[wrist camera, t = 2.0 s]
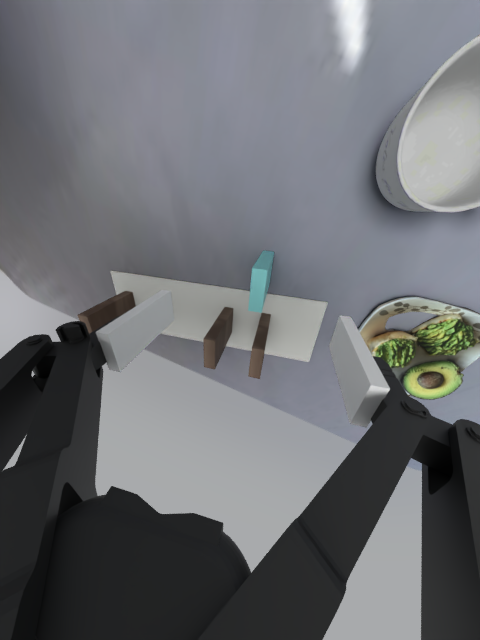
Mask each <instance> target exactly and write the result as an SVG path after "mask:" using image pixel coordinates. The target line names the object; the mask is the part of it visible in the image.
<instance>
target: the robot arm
mask: <svg viewBox="0 0 480 640" xmlns="http://www.w3.org/2000/svg"><path fill="white" fill-rule="evenodd" d="M173 321H174V313H173V305H172V297H171V291H168V290H161V291H159V292H158V293H156V294H155V295H153V296H152V297H150V298H148V299H147V300H145V301H144V302H142V303H141V304H139V305H137V306H136V307H134V308H133V309H131V310H130V311H128V312H126V313H125V314H123V315H120V316H117V317H115V318H114V319H112V320H111V321H110V322H107V323H106V324H105V325H103V326H101V327H99V328H98V329H96V330H95V331H93V332H91V333H90V334H89V332H88V329H87V327H86V324H85V323H84V322H81V321H75V322H69V323H66V324H63V325H61V326H59V327H58V328H57V329H56V331H57V334H58V336H59V338H60V340H61V342H52V340H51V338H50V337H49V335H43V334H42V335H34V336H30V337H28V338H26V339H24V340H22V341H21V342H19V343H18V344H17V345H16V346H15V347H14V348H13V349H12V350H11V351H9V352H8V353H7V354H6V355H5V356H3V357H2V358H1V359H0V640H322V639H323V637H324V635H325V633H326V631H327V629H328V628H329V626H330V624H331V622H332V620H333V618H334V616H335V614H336V612H337V610H338V608H339V605H340V603H341V601H342V599H343V597H344V594H345V591H346V583H347V580H348V578H349V576H350V573H351V571H352V570H353V568H354V566H355V564H356V562H357V560H358V558H359V556H360V554H361V552H362V550H363V549H364V547H365V545H366V543H367V541H368V539H369V537H370V535H371V533H372V531H373V529H374V528H375V526H376V524H377V522H378V520H379V518H380V516H381V514H382V512H383V510H384V508H385V506H386V504H387V502H388V501H389V499H390V497H391V495H392V493H393V491H394V489H395V487H396V485H397V483H398V482H399V480H400V478H401V476H402V474H403V472H404V470H405V468H406V466H407V464H408V462H409V460H410V459H411V458H412V459H414V460H416V461H418V462H420V463H422V590H421V592H422V593H421V606H422V607H421V612H422V613H421V640H480V425H479V424H477V423H475V422H472V421H469V420H464V419H460V420H457V421H456V422H455V423H454V424H453V425H452V424H450V423H447V422H445V421H442V420H440V419H437V418H435V417H433V416H431V414H430V413H429V411H428V409H427V408H426V407H425V406H424V405H422V404H421V403H420V402H418V401H417V400H415V399H413V398H411V397H409V396H408V395H407V393H406V392H405V390H404V388H403V387H402V385H401V384H400V382H399V380H398V379H397V378H396V375H395V374H394V372H392V369H391V367H390V366H389V364H388V363H387V362H386V361H384V360H383V359H382V358H381V357H376V356H372V354H371V353H370V351H369V349H368V347H367V345H366V343H365V342H364V340H363V338H362V336H361V334H360V332H359V331H358V329H357V327H356V325H355V323H354V321H353V320H352V318H351V317H348V316H341V315H340V316H339V318H338V321H337V324H336V327H335V330H334V333H333V336H332V339H331V342H330V345H329V348H330V352H331V356H332V359H333V363H334V367H335V370H336V374H337V378H338V381H339V385H340V389H341V392H342V396H343V400H344V403H345V407H346V411H347V414H348V418H349V422H350V424H353V425H357V426H362V427H366V428H367V426H368V424H369V423H370V421H372V423H373V425H372V426H371V427H370V428H369V430H368V431H367V432H366V433H365V435H364V436H363V437H362V438H361V440H360V441H359V442H358V443H357V445H356V446H355V447H354V449H353V450H352V451H351V453H349V455H348V456H347V457H346V459H345V460H344V461H343V462H342V463H341V465H340V466H339V467H338V469H337V470H336V471H335V472H334V474H333V475H332V476H331V477H330V479H329V480H328V481H327V482H326V484H325V485H324V486H323V487H322V489H321V490H320V491H319V492H318V494H317V495H316V496H315V497H314V499H313V500H312V501H311V502H310V504H309V505H308V506H307V507H306V509H305V510H304V511H303V513H302V514H301V515H300V516H299V517H298V518H297V519H295V520H294V521H293V523H291V525H290V526H289V527H288V528H287V529H286V531H285V532H284V533H283V534H282V536H281V537H280V538H279V539H278V541H277V542H276V543H275V544H274V546H273V547H272V548H271V549H270V551H269V552H268V553H267V554H266V556H265V557H264V558H263V559H262V561H261V562H260V563H259V564H258V566H257V567H256V568H255V569H254V570H253V572H252V573H251V571H250V569H249V567H248V564H247V562H246V560H245V558H244V556H243V554H242V553H241V551H240V550H239V548H238V547H237V545H236V544H235V543H234V542H233V541H232V539H231V538H230V537H229V536H228V535H226V534H225V533H224V532H223V523H222V522H219V521H216V520H213V519H210V518H207V517H204V516H201V515H198V514H194V513H187V514H160V513H158V512H157V511H156V510H154V509H153V508H152V507H151V506H150V505H149V504H148V503H146V502H145V501H144V500H143V499H142V498H141V497H139V496H138V495H137V494H134V493H131V492H128V491H125V490H122V489H119V488H116V487H113V486H111V488H110V489H109V491H108V492H107V494H106V495H101V496H97V493H96V488H95V475H96V461H97V448H98V434H99V421H100V408H101V393H102V380H103V369H102V365H104V364H105V363H106V362H107V365H108V368H109V370H113V371H118V372H121V371H122V370H123V369H124V368H125V367H126V366H127V365H128V364H129V363H130V362H131V361H132V360H133V359H134V358H135V357H136V356H137V355H138V354H139V353H141V352H142V351H143V350H144V349H145V348H146V347H147V346H148V345H149V344H150V343H151V342H152V341H153V340H154V339H155V338H156V337H157V336H158V335H159V334H160V333H161V332H162V331H163V330H164V329H166V328H167V327H168V326H169V325H170V324H171V323H172V322H173ZM32 370H33V372H34V374H35V375H34V376H33V377H32V376H31V373H32ZM26 435H27V436H26ZM25 436H26V439H25V442H24V444H23V447H22V450H21V452H20V455H19V457H18V461H17V462H16V464H15V466H13V467H11V468H8V469H5V470H3V469H4V468H5V466H6V465H7V463H8V461H9V460H10V459H11V457H12V456H13V454H14V452H15V451H16V449H17V448H18V446H19V445H20V444H21V442H22V441H23V439H24V438H25Z"/></svg>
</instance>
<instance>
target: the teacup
mask: <svg viewBox="0 0 480 640" xmlns="http://www.w3.org/2000/svg"><path fill="white" fill-rule="evenodd" d="M376 179H377V183H378V187H379V189H380V191H381V193H382V195H383V196H384V197H385V199H386V200H387V201H388V202H390V203H391V204H392V205H394V206H396V207H398V208H400V209H403V210H407V211H414V212H444V213H451V212H460V211H466V210H470V209H474V208H477V207H480V35H478V36H477V37H475V38H474V39H473V40H472V41H470V42H469V43H467V44H466V45H464V46H463V47H462V48H460V49H459V50H458V51H457V52H456V53H455V54H453V55H452V56H451V57H450V58H449V59H448V60H447V61H446V62H445V63H444V64H443V65H442V66H441V67H440V68H439V69H438V70H437V71H436V72H435V73H434V74H433V75H432V77H431V78H430V79H429V80H428V82H427V83H426V84H425V85H424V86H423V87H422V88H421V89H420V90H419V91H418V92H417V93H416V94H415V95H414V96H413V97H412V98H411V99H410V100H409V101H408V103H407V104H406V105H405V106H404V107H403V108H402V110H401V111H400V112H399V113H398V115H397V116H396V118H395V119H394V120H393V122H392V124H391V125H390V127H389V128H388V130H387V132H386V134H385V136H384V138H383V141H382V143H381V146H380V149H379V152H378V156H377V161H376Z"/></svg>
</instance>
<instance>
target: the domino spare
mask: <svg viewBox="0 0 480 640" xmlns="http://www.w3.org/2000/svg"><path fill="white" fill-rule="evenodd" d="M273 257H274V252H272V251H263V252H262V253H261V255H260V257H259V258H258V260H257V261H256V263H255V265H254V266H253V268H252V275H251V286H250V296H249V306H248V311H253V312H259V313H262V310H263V306H264V302H265V299H266V295H267V291H268V288H269V284H270V277H271V271H272V264H273Z"/></svg>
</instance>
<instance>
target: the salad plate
mask: <svg viewBox="0 0 480 640" xmlns="http://www.w3.org/2000/svg"><path fill="white" fill-rule="evenodd" d="M406 312H426V313H432V314H436V315H438V317H436V318H433V319H430V320H428V321H427V322H424V323H423V324H421V325H419V326H418V327H416V328H414V329H411V330H409V331H395V330H394V329H391V330H386V329H385V325H386V322H387V320H388V318H389V317H391V316H394V315H397V314H401V313H406ZM358 331H359V332H360V334H361V336H362V338H363V340H364V342H365V343H366V345H367V347H368V349H369V351H370V353H371V354H372V356H376V357H381V358H382V359H383V360H384V361H386V362H387V363H388V364H389V366H390V367H391V369H392V372H394V374H395V375H396V378H397V379H398V380H399V382H400V384H401V385H402V387H403V388H404V390H405V392H406V393H407V395H408V396H410V395H412V396H414V397H417V398H420V399H429V400H431V399H438V398H442V397H444V396H447V395H449V394H451V393H452V392H454V391H455V390H456V389H457V388H458V387H459V386H460V385H461V384H462V382H463V380H462V377H463V376H464V375H463V374H462V373H460V372H462V371H463V370H464V369H465V368H466V367H467V366H469V365H471V364H472V363H473V362H474V361H475V360H476V359H478V358H479V357H480V314H479V313H477V312H475V311H473V310H471V309H468V308H463V307H457V306H453V305H450V304H446V303H442V302H440V301H435V300H431V299H426V298H421V297H416V296H413V297H404V298H398V299H395V300H392V301H389V302H387V303H384V304H381V305H380V306H378V307H377V308H376V309H375V310H374V311H373V312H372V313H371V314H370V315H369V316H368V317H367V318H366V319H365V320H364V322H363V323H362V325H361V326H360V328H359V329H358Z"/></svg>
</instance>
